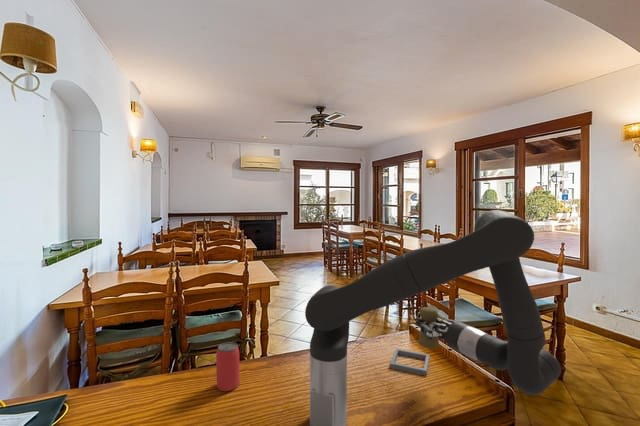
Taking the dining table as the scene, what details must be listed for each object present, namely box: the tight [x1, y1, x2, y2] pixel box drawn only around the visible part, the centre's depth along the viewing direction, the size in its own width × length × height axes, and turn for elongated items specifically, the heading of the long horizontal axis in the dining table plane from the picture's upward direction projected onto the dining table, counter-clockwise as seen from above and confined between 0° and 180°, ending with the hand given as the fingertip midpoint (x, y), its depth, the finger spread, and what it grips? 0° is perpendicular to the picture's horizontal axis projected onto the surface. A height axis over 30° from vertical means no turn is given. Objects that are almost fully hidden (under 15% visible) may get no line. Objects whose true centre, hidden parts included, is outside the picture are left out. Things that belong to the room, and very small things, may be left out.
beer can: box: [215, 341, 240, 392], centre depth 93 cm, size 7×7×12 cm
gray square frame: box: [389, 348, 430, 376], centre depth 106 cm, size 12×12×2 cm
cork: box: [418, 306, 440, 349], centre depth 96 cm, size 6×6×11 cm
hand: (422, 319), depth 98 cm, fingers closed on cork, 4 cm apart
